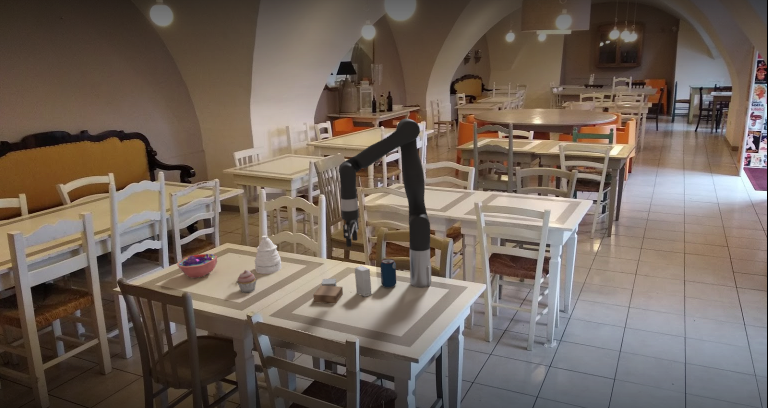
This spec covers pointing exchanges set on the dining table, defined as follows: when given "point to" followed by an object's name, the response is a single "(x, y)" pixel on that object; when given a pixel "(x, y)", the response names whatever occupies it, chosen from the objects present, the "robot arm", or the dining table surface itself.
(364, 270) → the skincare box
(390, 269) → the soda can
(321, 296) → the walnut block
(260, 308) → the dining table surface
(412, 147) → the robot arm
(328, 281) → the grey block
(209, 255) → the cell model
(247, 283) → the cupcake
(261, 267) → the honey pot
